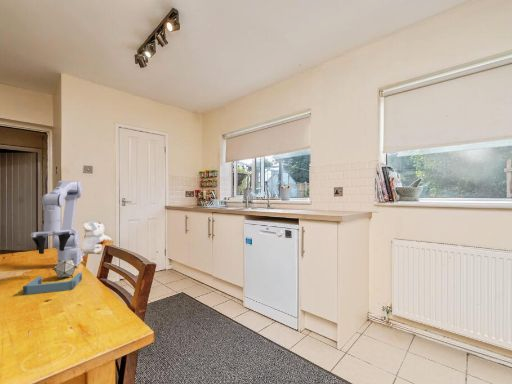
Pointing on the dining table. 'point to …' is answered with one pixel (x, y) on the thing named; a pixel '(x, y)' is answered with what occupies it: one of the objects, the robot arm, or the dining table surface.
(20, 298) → the dining table surface
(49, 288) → the chassis
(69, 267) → the game die
